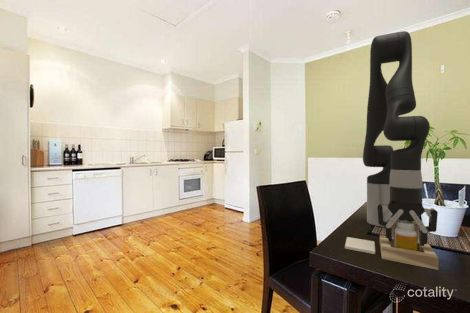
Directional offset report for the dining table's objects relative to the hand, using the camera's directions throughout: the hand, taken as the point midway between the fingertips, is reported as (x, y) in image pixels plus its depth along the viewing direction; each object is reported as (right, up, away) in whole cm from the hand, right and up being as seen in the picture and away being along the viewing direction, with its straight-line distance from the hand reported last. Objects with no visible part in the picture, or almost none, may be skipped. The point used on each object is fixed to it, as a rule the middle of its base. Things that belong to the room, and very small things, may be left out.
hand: (405, 242), depth 65 cm
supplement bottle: (0, -4, 0) cm, 4 cm away
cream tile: (-9, -4, +7) cm, 12 cm away
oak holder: (0, -4, 0) cm, 4 cm away
